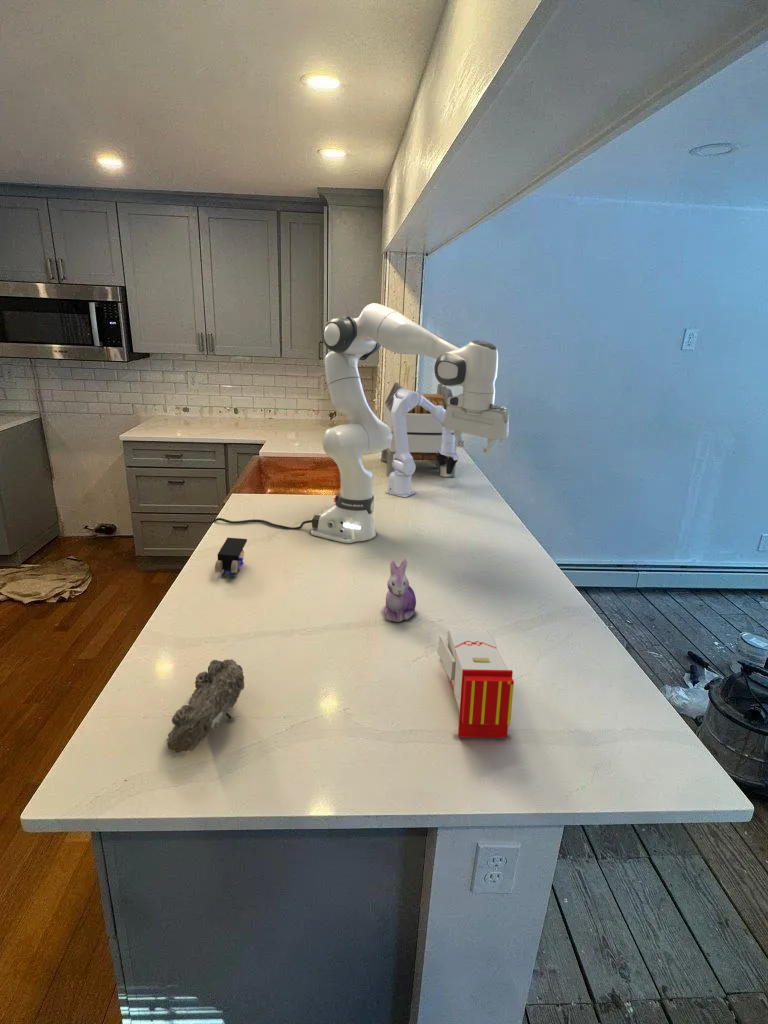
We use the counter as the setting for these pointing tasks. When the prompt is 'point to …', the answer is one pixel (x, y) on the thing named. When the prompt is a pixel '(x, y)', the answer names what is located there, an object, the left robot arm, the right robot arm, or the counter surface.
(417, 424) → the transformer
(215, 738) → the counter surface
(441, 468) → the canister
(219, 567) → the figurine character
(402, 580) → the figurine
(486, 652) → the toy
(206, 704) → the fossil
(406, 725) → the counter surface
